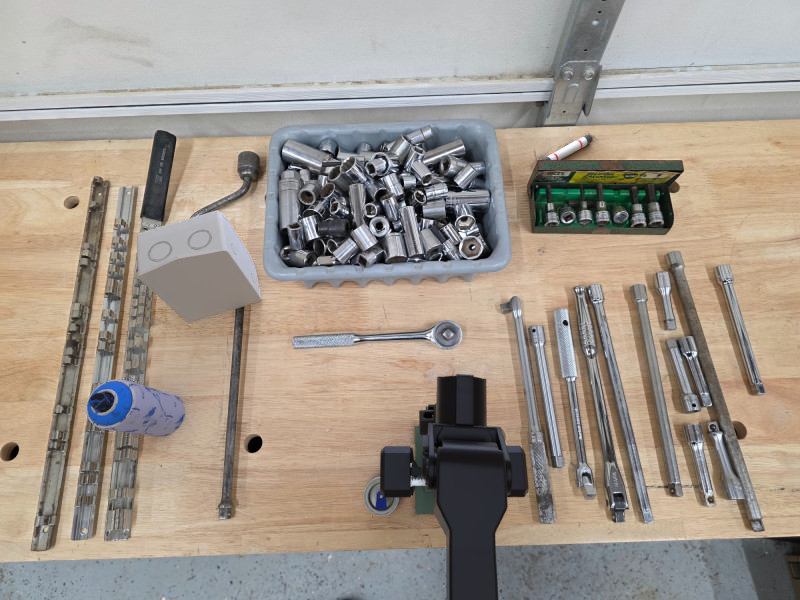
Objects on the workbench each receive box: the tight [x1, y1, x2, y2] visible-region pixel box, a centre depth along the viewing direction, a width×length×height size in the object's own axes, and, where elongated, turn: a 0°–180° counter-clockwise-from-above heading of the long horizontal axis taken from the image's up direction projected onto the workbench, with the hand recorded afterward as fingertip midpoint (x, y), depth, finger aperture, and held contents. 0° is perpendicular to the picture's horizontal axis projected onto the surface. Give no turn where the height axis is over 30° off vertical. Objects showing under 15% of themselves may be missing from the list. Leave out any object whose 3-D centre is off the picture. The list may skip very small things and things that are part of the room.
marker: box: [541, 133, 593, 161], centre depth 99 cm, size 15×2×2 cm, turn 121°
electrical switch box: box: [136, 210, 263, 324], centre depth 84 cm, size 15×15×20 cm
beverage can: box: [362, 476, 401, 517], centre depth 70 cm, size 5×5×15 cm
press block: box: [414, 425, 435, 515], centre depth 76 cm, size 14×10×4 cm
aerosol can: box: [85, 378, 186, 438], centre depth 73 cm, size 8×8×20 cm
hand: (447, 470), depth 66 cm, fingers open, 9 cm apart
